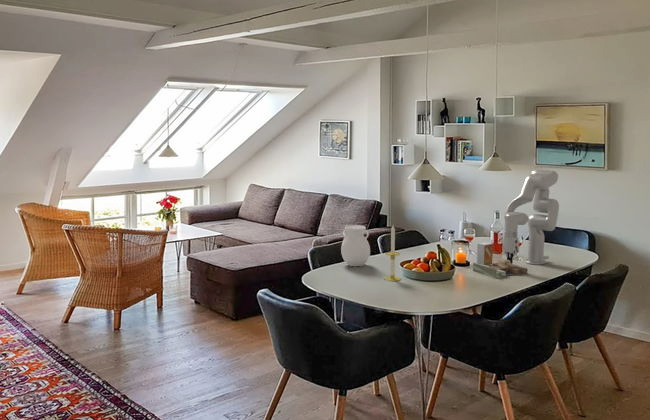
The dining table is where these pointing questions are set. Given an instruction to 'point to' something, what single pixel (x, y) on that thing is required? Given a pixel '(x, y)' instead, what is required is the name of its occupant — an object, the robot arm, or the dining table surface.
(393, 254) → the candle
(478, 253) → the small box
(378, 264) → the dining table surface
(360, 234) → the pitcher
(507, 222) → the robot arm
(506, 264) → the maple cube
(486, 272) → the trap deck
